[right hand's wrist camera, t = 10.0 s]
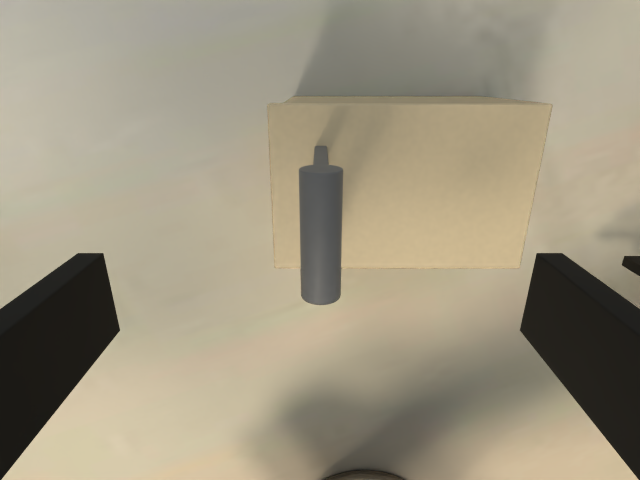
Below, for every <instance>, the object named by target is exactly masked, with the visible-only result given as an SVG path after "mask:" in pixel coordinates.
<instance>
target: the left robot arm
mask: <svg viewBox="0 0 640 480" xmlns="http://www.w3.org/2000/svg"><path fill="white" fill-rule="evenodd" d="M622 266H624V267H626V268H627V269H629V270H631V271H632V272H634V273H636V274H637V275H639V276H640V256H624V259H623V263H622ZM325 480H403V479H402V478H399V477H397V476H395V475H392V474H389V473H385V472H380V471H372V470H358V471H350V472H345V473H341V474H337V475H334V476H332V477H329V478H327V479H325Z"/></svg>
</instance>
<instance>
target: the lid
mask: <svg viewBox="0 0 640 480" xmlns="http://www.w3.org/2000/svg"><path fill="white" fill-rule="evenodd" d="M551 110H552V104H547V103H270V104H268V105H267V111H268V133H269V155H270V176H271V198H272V220H273V241H274V263H275V268H301V296H302V298H303V299H304V300H305V301H306V302H308V303H311V304H315V305H326V304H331V303H334V302H336V301H337V300H338V299H339V298H340V295H341V268H520V263H521V258H522V253H523V248H524V243H525V238H526V233H527V228H528V223H529V219H530V214H531V209H532V204H533V199H534V194H535V189H536V184H537V179H538V174H539V169H540V164H541V159H542V155H543V150H544V145H545V140H546V135H547V130H548V125H549V120H550V115H551Z"/></svg>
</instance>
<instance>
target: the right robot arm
mask: <svg viewBox="0 0 640 480" xmlns="http://www.w3.org/2000/svg"><path fill="white" fill-rule="evenodd" d="M119 331H120V328H119V323H118V319H117V314H116V310H115V305H114V300H113V296H112V291H111V287H110V282H109V278H108V273H107V268H106V264H105V259H104V255H103V253H78V254H76V255H75V256H73V257H72V258H71V259H69V260H68V261H67V262H65V263H64V264H62V265H61V266H60V267H58V268H57V269H55V270H54V271H53V272H51V273H50V274H48V275H47V276H46V277H44V278H43V279H42V280H40V281H39V282H37V283H36V284H35V285H33V286H32V287H30V288H29V289H28V290H26V291H25V292H24V293H22V294H21V295H19V296H18V297H17V298H15V299H14V300H12V301H11V302H10V303H8V304H7V305H5V306H4V307H3V308H1V309H0V480H1V479H2V478H3V477H4V475H5V474H6V473H7V472H8V470H9V469H10V468H11V467H12V465H13V464H14V463H15V462H16V460H17V459H18V458H19V457H20V455H21V454H22V453H23V452H24V450H25V449H26V448H27V447H28V445H29V444H30V443H31V442H32V440H33V439H34V438H35V436H36V435H37V434H38V433H39V431H40V430H41V429H42V428H43V426H44V425H45V424H46V423H47V421H48V420H49V419H50V418H51V416H52V415H53V414H54V413H55V411H56V410H57V409H58V408H59V406H60V405H61V404H62V403H63V401H64V400H65V399H66V398H67V396H68V395H69V394H70V392H71V391H72V390H73V389H74V387H75V386H76V385H77V384H78V382H79V381H80V380H81V379H82V377H83V376H84V375H85V374H86V372H87V371H88V370H89V369H90V367H91V366H92V365H93V364H94V362H95V361H96V360H97V359H98V357H99V356H100V355H101V354H102V352H103V351H104V350H105V349H106V347H107V346H108V345H109V343H110V342H111V341H112V340H113V338H114V337H115V336H116V335H117V333H118V332H119ZM520 331H521V332H522V333H523V335H524V336H525V337H526V338H527V340H528V341H529V342H530V343H531V345H532V346H533V347H534V349H535V350H536V351H537V352H538V354H539V355H540V356H541V357H542V359H543V360H544V361H545V362H546V364H547V365H548V366H549V367H550V369H551V370H552V371H553V372H554V374H555V375H556V376H557V377H558V379H559V380H560V381H561V382H562V384H563V385H564V386H565V387H566V389H567V390H568V391H569V392H570V394H571V395H572V396H573V398H574V399H575V400H576V401H577V403H578V404H579V405H580V406H581V408H582V409H583V410H584V411H585V413H586V414H587V415H588V416H589V418H590V419H591V420H592V421H593V423H594V424H595V425H596V426H597V428H598V429H599V430H600V431H601V433H602V434H603V435H604V436H605V438H606V439H607V440H608V442H609V443H610V444H611V445H612V447H613V448H614V449H615V450H616V452H617V453H618V454H619V455H620V457H621V458H622V459H623V460H624V462H625V463H626V464H627V465H628V467H629V468H630V469H631V470H632V472H633V473H634V474H635V475H636V477H637V478H638V479H639V480H640V309H639V308H637V307H636V306H635V305H633V304H632V303H630V302H629V301H628V300H626V299H625V298H623V297H622V296H621V295H619V294H618V293H616V292H615V291H614V290H612V289H611V288H610V287H608V286H607V285H605V284H604V283H603V282H601V281H600V280H598V279H597V278H596V277H594V276H593V275H591V274H590V273H589V272H587V271H586V270H585V269H583V268H582V267H580V266H579V265H578V264H576V263H575V262H573V261H572V260H571V259H569V258H568V257H567V256H565V255H564V254H562V253H537V255H536V259H535V264H534V268H533V273H532V278H531V282H530V287H529V291H528V296H527V300H526V305H525V310H524V314H523V319H522V323H521V328H520Z"/></svg>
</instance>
